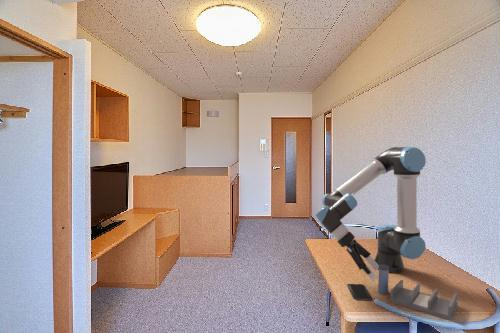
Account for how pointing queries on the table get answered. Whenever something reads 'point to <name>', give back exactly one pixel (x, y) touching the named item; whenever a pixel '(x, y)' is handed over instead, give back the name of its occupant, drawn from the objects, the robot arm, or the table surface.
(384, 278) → the grey cylinder
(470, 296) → the table surface
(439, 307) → the rack
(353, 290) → the phone
